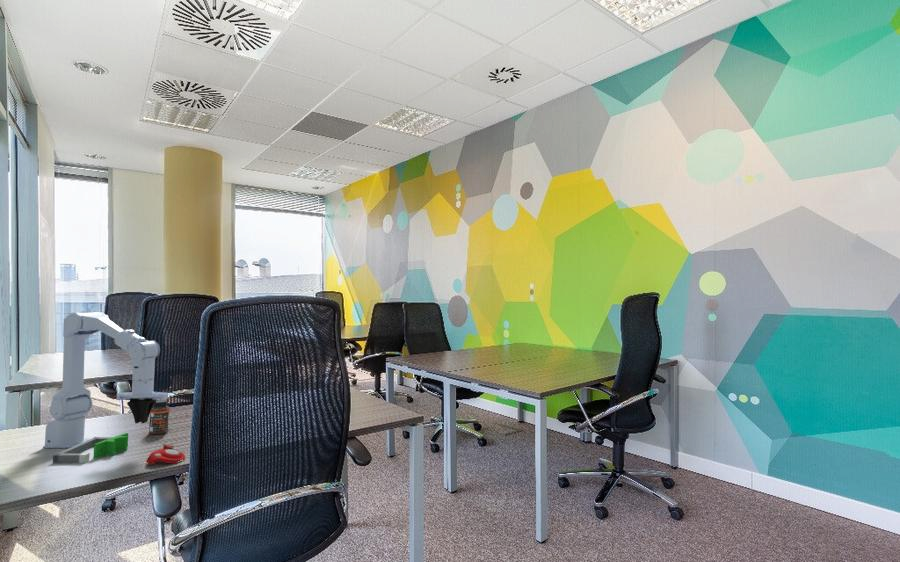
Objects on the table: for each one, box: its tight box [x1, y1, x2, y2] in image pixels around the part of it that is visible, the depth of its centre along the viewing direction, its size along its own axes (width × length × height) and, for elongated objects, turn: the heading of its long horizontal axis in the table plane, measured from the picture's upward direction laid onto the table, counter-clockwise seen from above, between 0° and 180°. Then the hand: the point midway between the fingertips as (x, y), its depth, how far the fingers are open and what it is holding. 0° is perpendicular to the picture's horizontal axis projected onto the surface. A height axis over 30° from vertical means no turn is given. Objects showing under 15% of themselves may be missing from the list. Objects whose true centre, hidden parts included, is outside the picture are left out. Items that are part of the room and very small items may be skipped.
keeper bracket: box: [52, 436, 114, 464], centre depth 139 cm, size 9×17×2 cm, turn 4°
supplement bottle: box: [148, 399, 171, 435], centre depth 161 cm, size 6×6×11 cm
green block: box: [93, 432, 129, 459], centre depth 140 cm, size 11×4×5 cm, turn 173°
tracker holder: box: [145, 442, 186, 466], centre depth 134 cm, size 12×4×10 cm
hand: (141, 422), depth 140 cm, fingers closed
